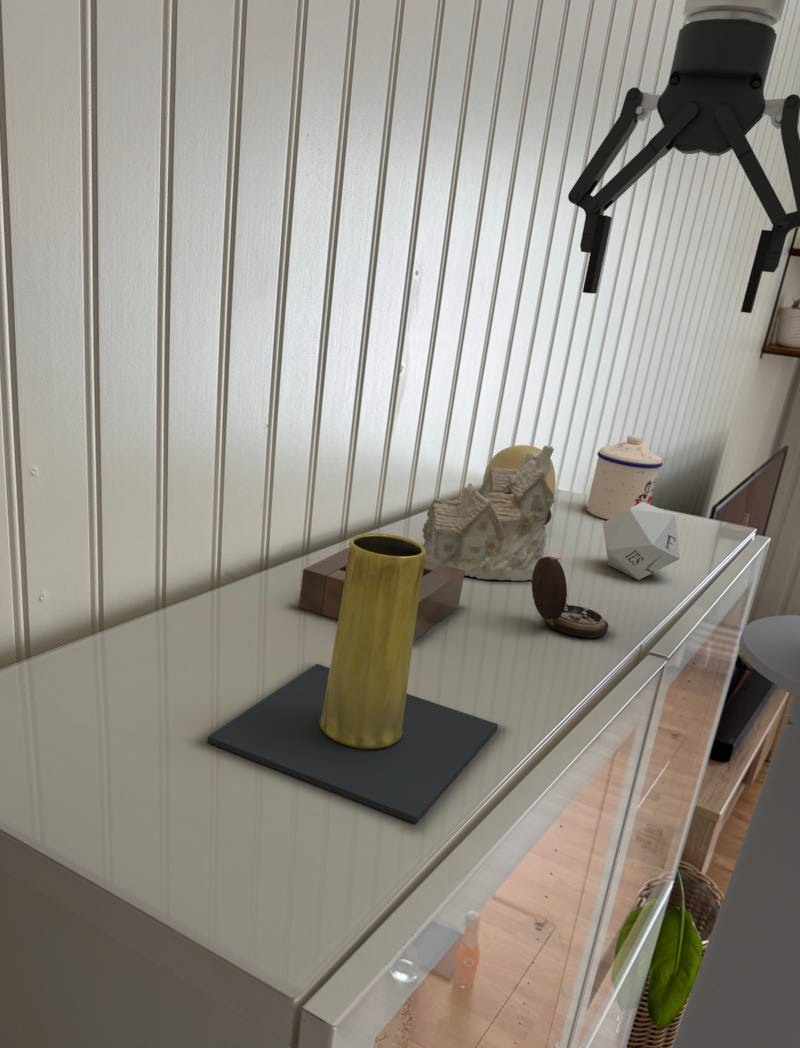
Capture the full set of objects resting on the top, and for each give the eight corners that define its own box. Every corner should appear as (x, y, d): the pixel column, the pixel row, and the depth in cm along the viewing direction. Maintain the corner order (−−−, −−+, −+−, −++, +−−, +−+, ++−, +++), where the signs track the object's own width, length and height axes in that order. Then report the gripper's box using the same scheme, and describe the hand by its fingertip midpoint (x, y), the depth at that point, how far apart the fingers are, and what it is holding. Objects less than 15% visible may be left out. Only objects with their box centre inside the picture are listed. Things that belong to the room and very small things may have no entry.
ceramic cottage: (536, 543, 122) (554, 425, 115) (556, 593, 107) (578, 460, 101) (413, 535, 122) (424, 417, 116) (416, 583, 108) (429, 451, 101)
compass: (618, 640, 95) (636, 570, 92) (545, 639, 93) (561, 567, 90) (581, 609, 102) (596, 543, 99) (512, 607, 100) (526, 540, 97)
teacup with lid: (643, 528, 136) (664, 447, 131) (579, 514, 139) (597, 434, 135) (653, 511, 146) (673, 435, 142) (593, 499, 149) (611, 424, 145)
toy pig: (475, 544, 132) (491, 509, 122) (477, 467, 136) (492, 427, 126) (546, 550, 132) (568, 516, 122) (546, 472, 136) (567, 433, 126)
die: (597, 583, 113) (666, 531, 107) (574, 527, 118) (639, 474, 112) (642, 603, 118) (710, 554, 111) (618, 548, 123) (682, 499, 117)
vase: (402, 755, 68) (435, 564, 62) (316, 744, 68) (341, 552, 62) (400, 715, 73) (430, 536, 68) (320, 705, 73) (344, 526, 68)
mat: (497, 729, 74) (498, 724, 74) (415, 824, 61) (417, 817, 61) (316, 668, 80) (317, 663, 80) (207, 742, 67) (207, 736, 67)
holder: (458, 607, 98) (465, 570, 96) (411, 642, 88) (418, 602, 86) (353, 577, 103) (358, 541, 101) (298, 607, 93) (303, 568, 91)
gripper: (566, 11, 79) (518, 285, 87) (905, 16, 70) (817, 322, 78) (584, 32, 85) (539, 285, 93) (898, 39, 76) (817, 319, 84)
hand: (665, 302), depth 86 cm, fingers open, 13 cm apart
